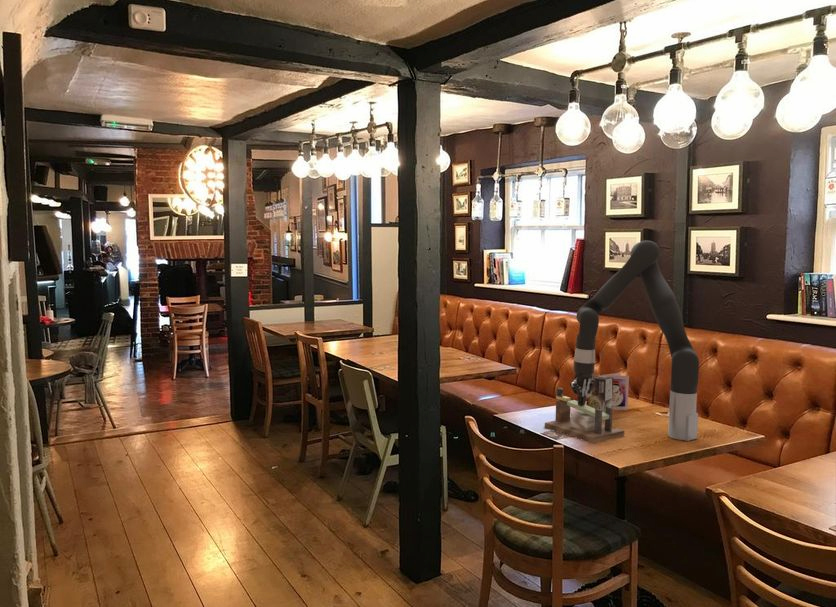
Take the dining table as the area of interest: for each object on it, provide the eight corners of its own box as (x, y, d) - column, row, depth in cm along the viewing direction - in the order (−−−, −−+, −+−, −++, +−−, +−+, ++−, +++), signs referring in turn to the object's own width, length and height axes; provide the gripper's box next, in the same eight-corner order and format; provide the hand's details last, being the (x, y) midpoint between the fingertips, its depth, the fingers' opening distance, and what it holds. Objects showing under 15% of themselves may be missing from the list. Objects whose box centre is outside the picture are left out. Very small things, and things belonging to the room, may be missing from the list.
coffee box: (612, 415, 276) (614, 377, 275) (604, 418, 272) (606, 379, 270) (593, 411, 283) (594, 374, 281) (585, 413, 279) (586, 376, 277)
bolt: (570, 400, 259) (570, 390, 258) (566, 401, 257) (566, 390, 257) (559, 397, 263) (559, 387, 263) (555, 398, 262) (555, 388, 261)
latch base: (624, 435, 248) (625, 406, 247) (594, 443, 238) (595, 413, 237) (574, 421, 267) (575, 394, 266) (544, 427, 257) (545, 399, 256)
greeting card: (601, 409, 285) (602, 375, 284) (597, 405, 293) (598, 372, 291) (628, 410, 285) (629, 376, 283) (623, 406, 292) (625, 372, 291)
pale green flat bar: (608, 418, 245) (609, 414, 245) (601, 420, 243) (602, 416, 242) (573, 403, 258) (574, 399, 258) (566, 404, 256) (567, 401, 256)
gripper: (580, 363, 244) (577, 409, 245) (603, 360, 251) (600, 405, 253) (564, 360, 250) (562, 405, 252) (588, 357, 257) (585, 400, 259)
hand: (581, 405), depth 252 cm, fingers closed
